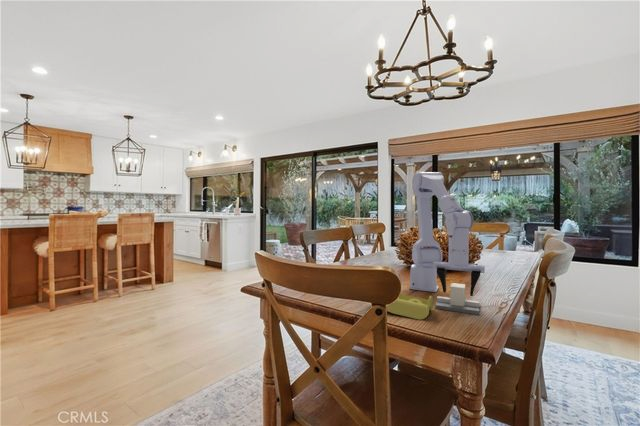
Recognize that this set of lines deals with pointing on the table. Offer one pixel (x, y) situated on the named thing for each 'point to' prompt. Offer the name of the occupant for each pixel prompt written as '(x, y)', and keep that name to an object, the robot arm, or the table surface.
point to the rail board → (468, 308)
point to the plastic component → (411, 306)
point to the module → (457, 294)
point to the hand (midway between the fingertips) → (457, 293)
